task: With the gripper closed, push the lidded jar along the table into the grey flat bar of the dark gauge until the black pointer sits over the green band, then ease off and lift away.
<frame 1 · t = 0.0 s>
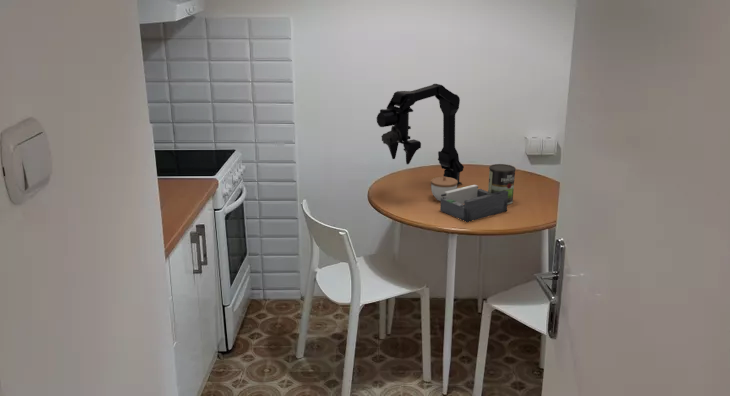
hand: (400, 161, 286), 15 cm above the table, tool pointing down, fingers open, 9 cm apart
lidded jar: (443, 199, 288), on the table
grey flat bar: (458, 196, 278), point 4 cm above the table, slide at 0.0 cm
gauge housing: (472, 210, 275), on the table
coffee can: (500, 201, 286), on the table
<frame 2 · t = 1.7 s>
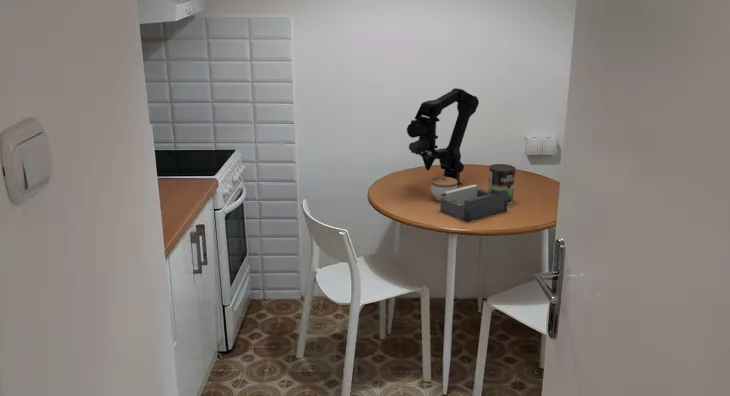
hand: (427, 170, 293), 10 cm above the table, tool pointing down, fingers closed
nothing on the table moved.
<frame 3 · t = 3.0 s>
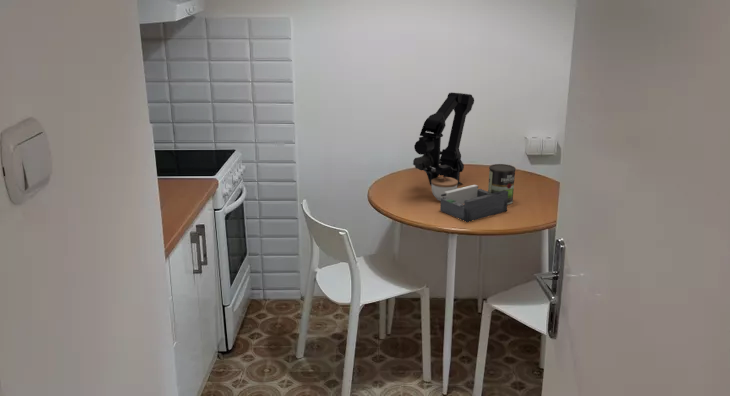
hand: (431, 185, 292), 4 cm above the table, tool pointing down, fingers closed
lidded jar: (443, 199, 288), on the table, touching gripper
everything else where it was.
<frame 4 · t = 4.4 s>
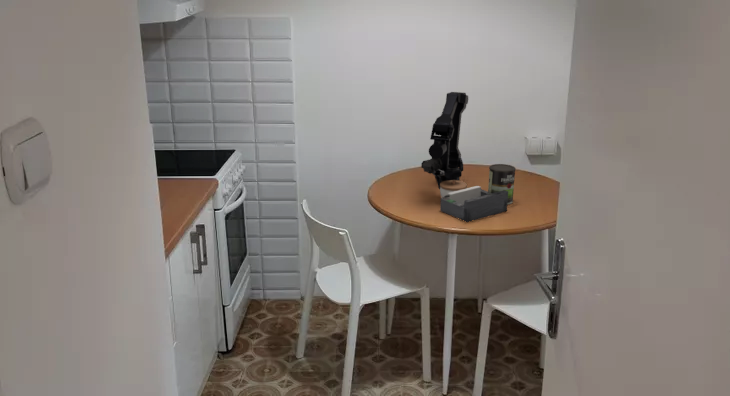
hand: (440, 188, 288), 4 cm above the table, tool pointing down, fingers closed
lidded jar: (452, 202, 284), on the table, touching gripper
grey flat bar: (462, 197, 277), point 4 cm above the table, slide at 1.9 cm
everything else where it was.
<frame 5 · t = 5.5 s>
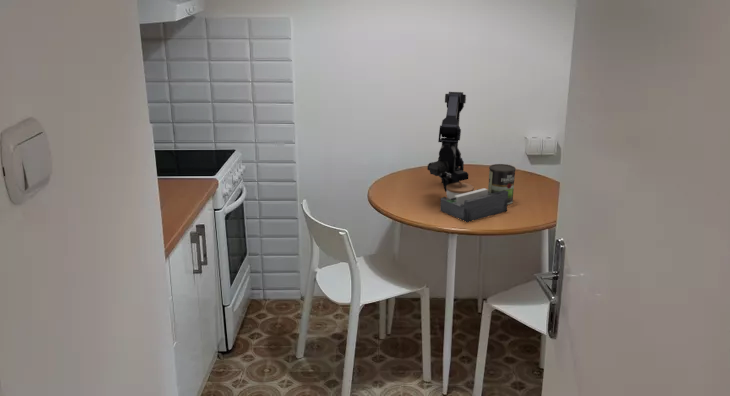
hand: (446, 191, 286), 4 cm above the table, tool pointing down, fingers closed
lidded jar: (459, 205, 281), on the table, touching grey flat bar, gripper
grey flat bar: (468, 200, 274), point 4 cm above the table, slide at 5.6 cm, touching lidded jar
everything else where it was.
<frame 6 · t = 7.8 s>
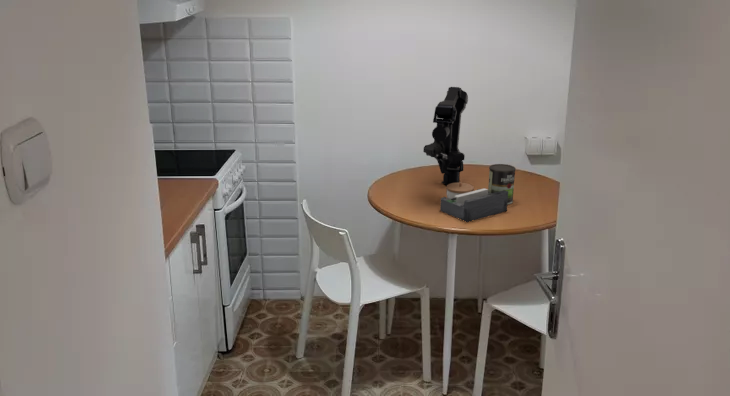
hand: (442, 173, 285), 11 cm above the table, tool pointing down, fingers closed
lidded jar: (459, 205, 281), on the table
grey flat bar: (468, 200, 274), point 4 cm above the table, slide at 5.7 cm
everything else where it was.
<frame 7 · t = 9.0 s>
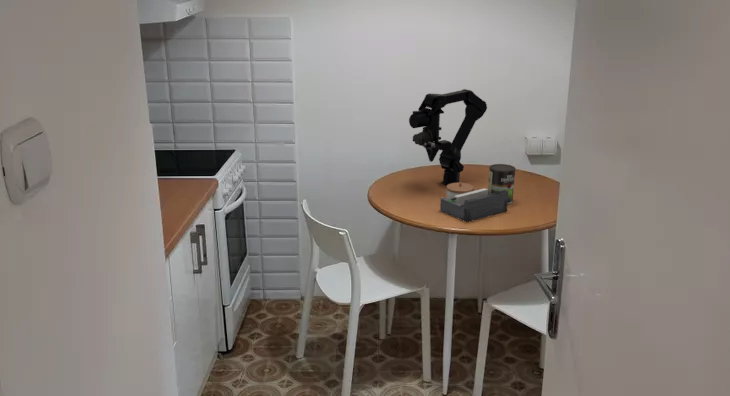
hand: (431, 161, 296), 12 cm above the table, tool pointing down, fingers closed
nothing on the table moved.
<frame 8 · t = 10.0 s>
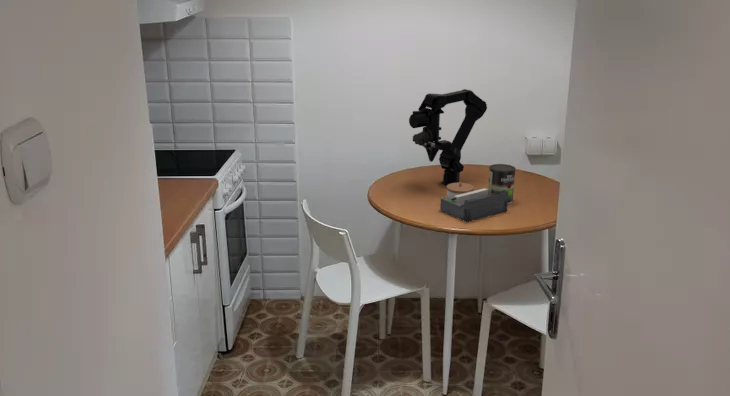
hand: (431, 161, 296), 12 cm above the table, tool pointing down, fingers closed
nothing on the table moved.
at the end: grey flat bar slide at 5.7 cm; lidded jar moved 9.4 cm from its start; lidded jar tilted 0° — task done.
